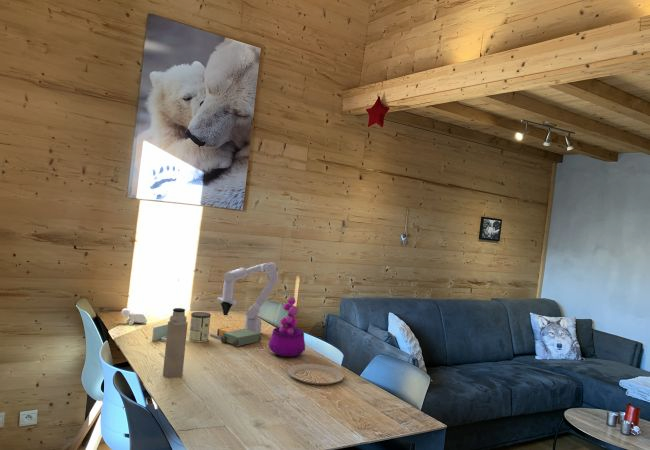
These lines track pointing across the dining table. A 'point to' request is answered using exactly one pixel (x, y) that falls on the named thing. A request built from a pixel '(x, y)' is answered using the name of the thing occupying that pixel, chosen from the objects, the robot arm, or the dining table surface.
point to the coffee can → (199, 326)
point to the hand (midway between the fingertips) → (225, 314)
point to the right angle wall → (160, 333)
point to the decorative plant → (288, 334)
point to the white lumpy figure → (134, 316)
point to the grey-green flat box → (239, 337)
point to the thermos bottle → (175, 344)
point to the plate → (330, 370)
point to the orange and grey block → (222, 330)
